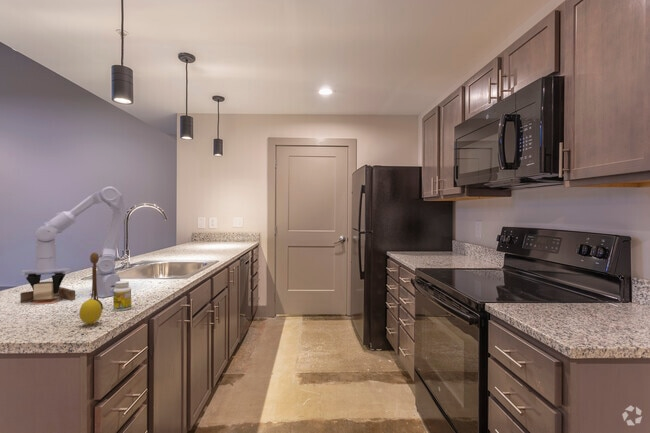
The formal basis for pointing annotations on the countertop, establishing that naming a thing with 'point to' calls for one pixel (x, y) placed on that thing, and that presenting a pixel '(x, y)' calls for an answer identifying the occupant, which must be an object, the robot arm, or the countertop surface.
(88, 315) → the lemon
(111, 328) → the countertop surface
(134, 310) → the countertop surface
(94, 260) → the wooden tabletop sculpture
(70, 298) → the brown wooden l-shaped block
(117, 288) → the supplement bottle
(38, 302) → the pad
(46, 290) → the maple cube
